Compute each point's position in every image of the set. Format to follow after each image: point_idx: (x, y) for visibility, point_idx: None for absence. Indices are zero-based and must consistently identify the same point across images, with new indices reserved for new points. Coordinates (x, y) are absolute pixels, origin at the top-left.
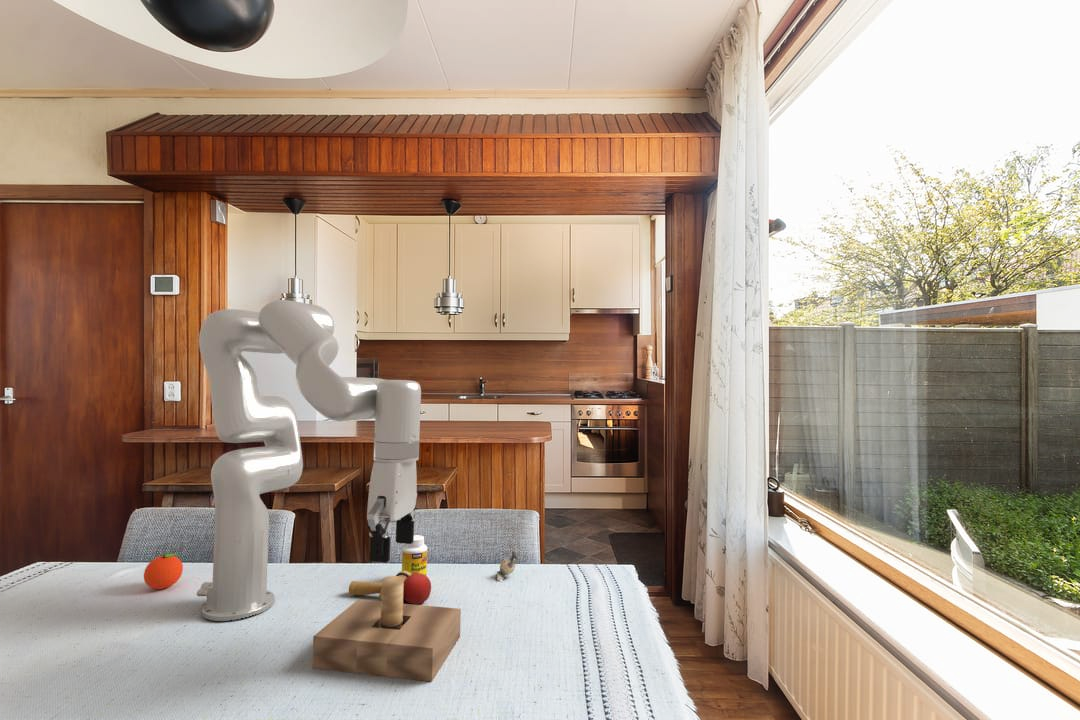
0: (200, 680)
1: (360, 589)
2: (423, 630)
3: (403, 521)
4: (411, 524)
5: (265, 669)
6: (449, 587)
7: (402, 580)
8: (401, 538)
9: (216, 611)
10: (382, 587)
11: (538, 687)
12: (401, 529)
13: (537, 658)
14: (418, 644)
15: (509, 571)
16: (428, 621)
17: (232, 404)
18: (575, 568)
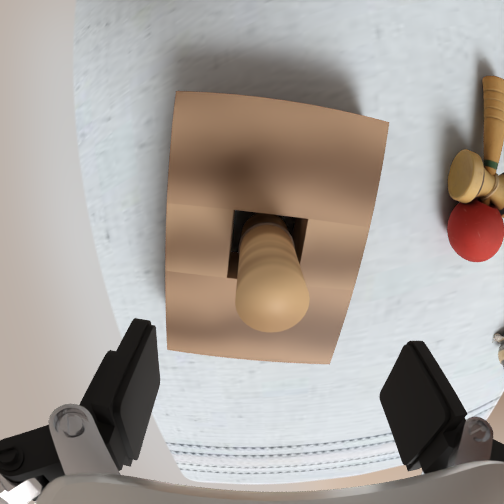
0: None
1: (488, 100)
2: (229, 324)
3: (433, 440)
4: (402, 459)
5: (182, 19)
6: (498, 266)
7: (269, 331)
8: (402, 376)
9: None
10: (247, 269)
11: (193, 418)
12: (418, 406)
13: (256, 418)
14: (173, 326)
15: (498, 356)
16: None
17: None
18: (487, 407)
